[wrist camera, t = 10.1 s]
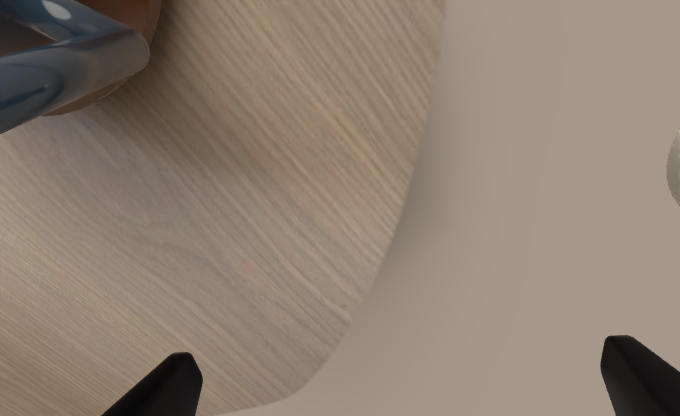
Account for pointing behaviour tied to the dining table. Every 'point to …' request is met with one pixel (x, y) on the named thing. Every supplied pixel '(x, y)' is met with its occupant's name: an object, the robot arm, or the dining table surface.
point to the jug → (69, 53)
